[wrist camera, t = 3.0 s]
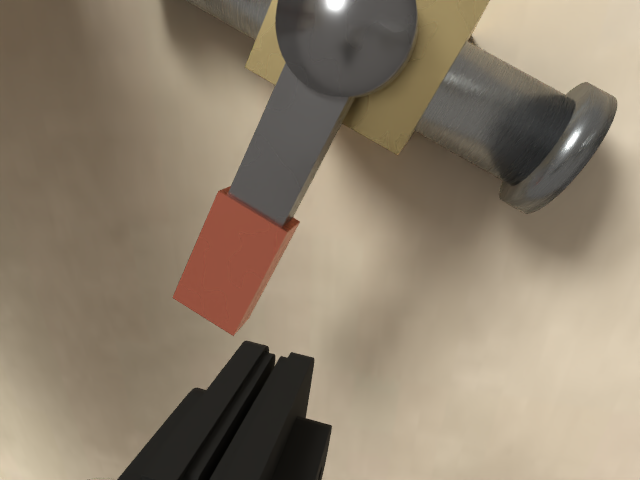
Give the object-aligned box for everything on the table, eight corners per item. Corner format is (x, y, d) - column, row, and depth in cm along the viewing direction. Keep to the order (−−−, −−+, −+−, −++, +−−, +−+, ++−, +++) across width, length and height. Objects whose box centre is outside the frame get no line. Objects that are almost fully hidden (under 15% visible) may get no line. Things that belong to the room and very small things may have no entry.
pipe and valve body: (586, 97, 21) (682, 90, 13) (511, 199, 23) (553, 248, 15) (183, -123, 23) (45, -251, 15) (149, -8, 25) (12, -63, 17)
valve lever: (326, -70, 14) (314, -91, 12) (445, -6, 14) (446, -20, 12) (179, 275, 19) (158, 289, 18) (262, 326, 19) (247, 344, 17)
